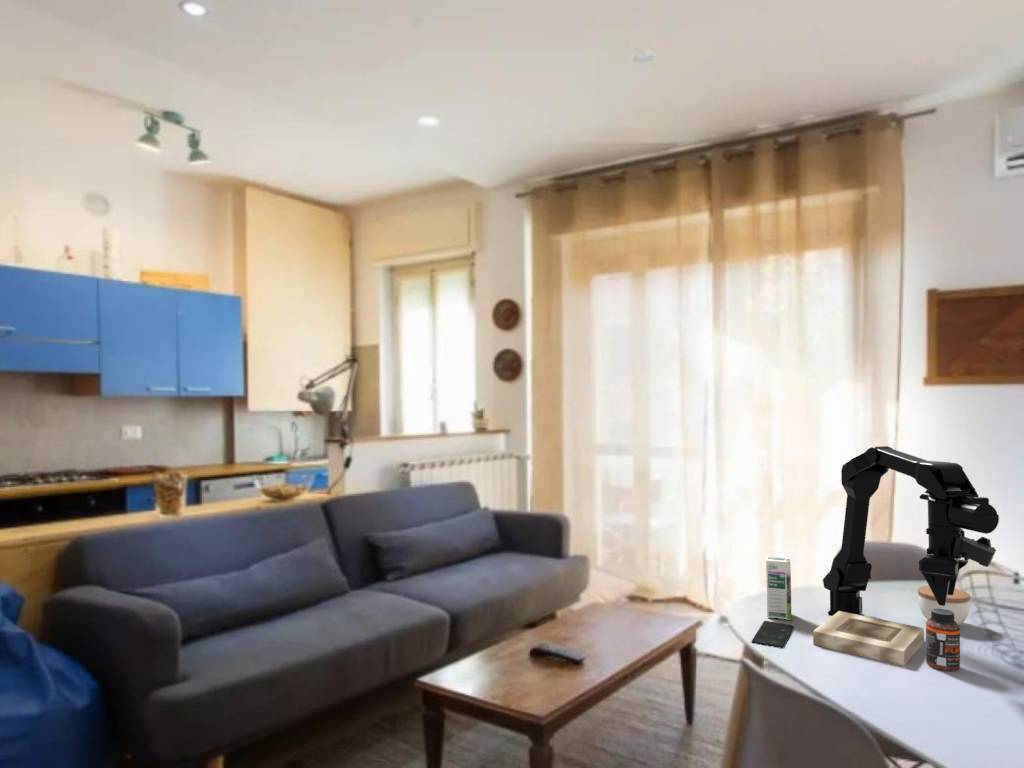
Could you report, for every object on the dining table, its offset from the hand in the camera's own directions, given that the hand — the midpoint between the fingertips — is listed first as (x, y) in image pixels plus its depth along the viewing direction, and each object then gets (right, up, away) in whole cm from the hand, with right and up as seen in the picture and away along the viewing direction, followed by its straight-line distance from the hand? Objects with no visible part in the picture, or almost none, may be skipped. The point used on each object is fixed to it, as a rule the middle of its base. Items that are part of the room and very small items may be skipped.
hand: (946, 599), depth 140 cm
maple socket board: (-9, -14, +12) cm, 21 cm away
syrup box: (-22, -14, +31) cm, 41 cm away
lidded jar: (+15, -14, +24) cm, 31 cm away
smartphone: (-29, -14, +18) cm, 37 cm away
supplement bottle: (-1, -14, -1) cm, 14 cm away
